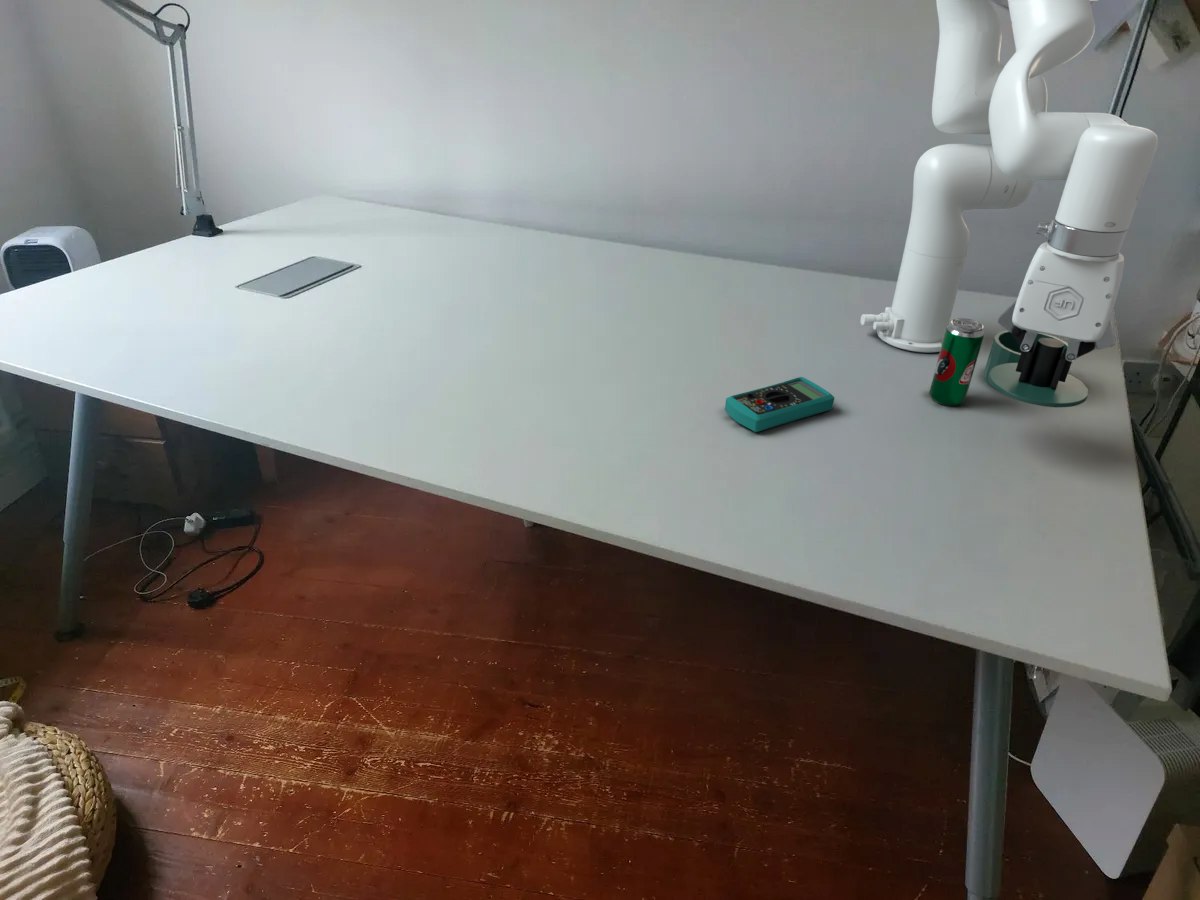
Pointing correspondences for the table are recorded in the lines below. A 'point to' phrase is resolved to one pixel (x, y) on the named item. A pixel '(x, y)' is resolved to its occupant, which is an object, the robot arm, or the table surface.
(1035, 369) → the lid
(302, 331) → the table surface
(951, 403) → the soda can
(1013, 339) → the green round container
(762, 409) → the digital multimeter
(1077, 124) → the robot arm
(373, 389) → the table surface
